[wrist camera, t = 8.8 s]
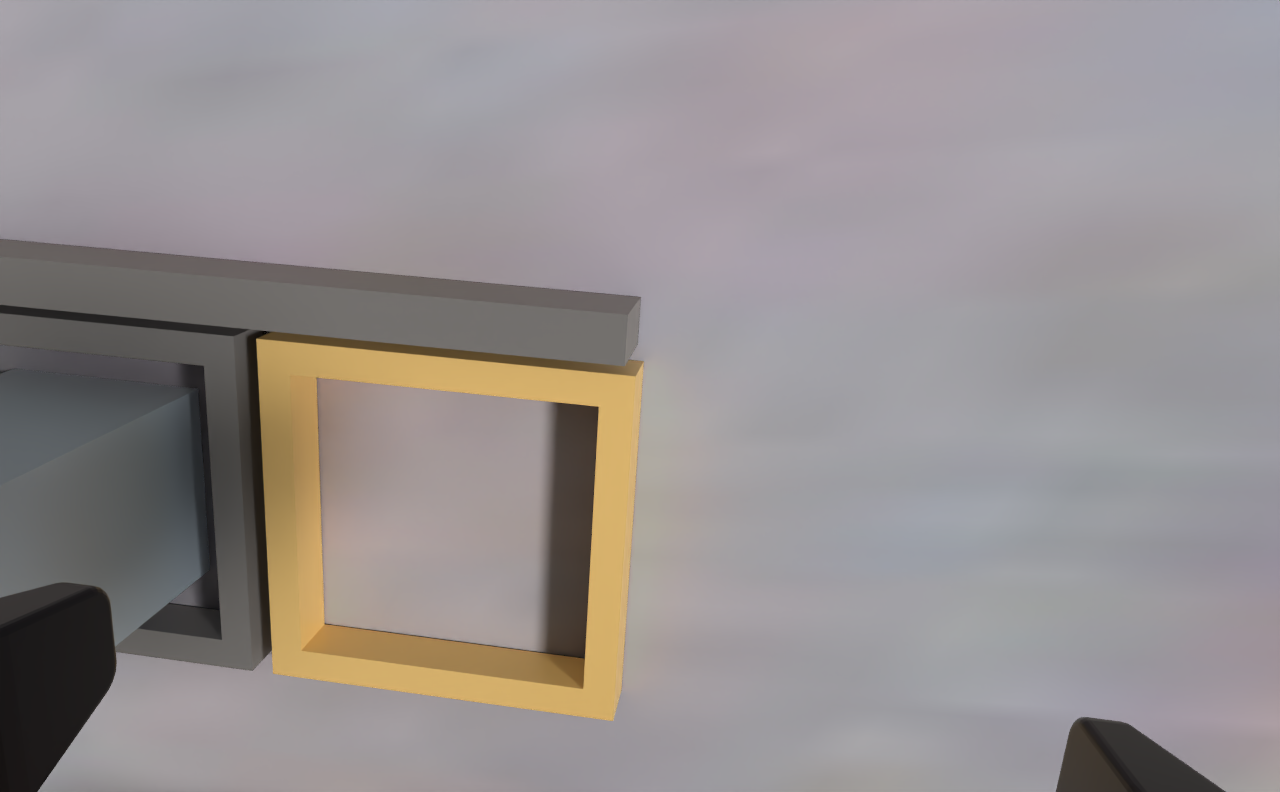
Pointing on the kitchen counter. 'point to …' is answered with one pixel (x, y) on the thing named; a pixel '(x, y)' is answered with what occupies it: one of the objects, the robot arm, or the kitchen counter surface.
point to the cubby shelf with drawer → (289, 448)
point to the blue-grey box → (101, 489)
